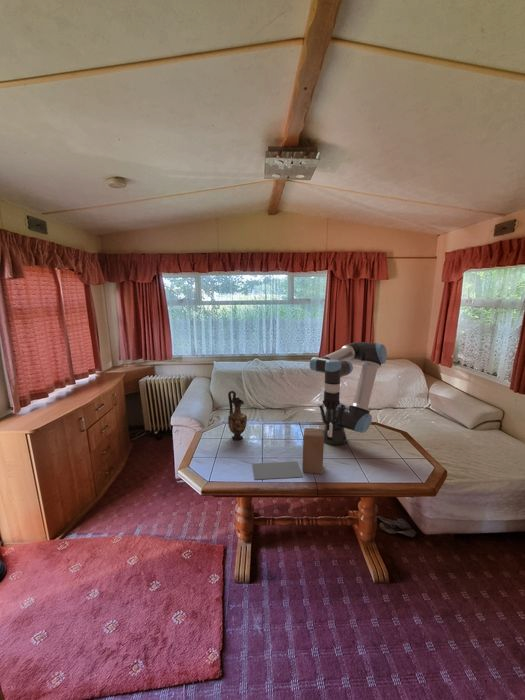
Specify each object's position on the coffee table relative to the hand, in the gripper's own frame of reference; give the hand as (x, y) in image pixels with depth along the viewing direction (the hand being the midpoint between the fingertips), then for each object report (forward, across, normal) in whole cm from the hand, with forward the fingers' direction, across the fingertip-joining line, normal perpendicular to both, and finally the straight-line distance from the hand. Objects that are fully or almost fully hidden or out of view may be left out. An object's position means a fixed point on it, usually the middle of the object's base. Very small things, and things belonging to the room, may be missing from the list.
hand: (329, 435), depth 147 cm
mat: (+18, +27, 0) cm, 32 cm away
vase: (+18, +46, -38) cm, 62 cm away
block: (+18, +8, 0) cm, 20 cm away
